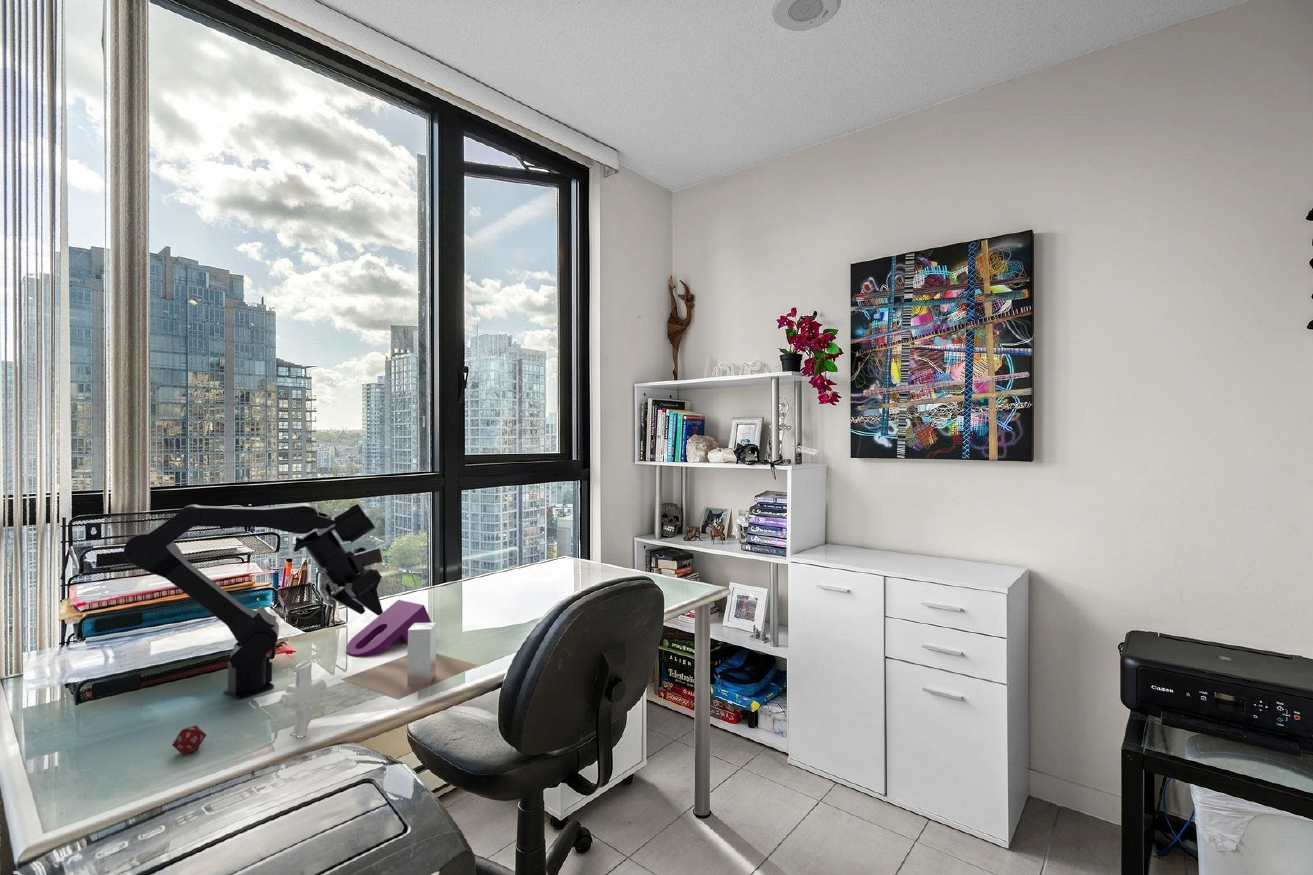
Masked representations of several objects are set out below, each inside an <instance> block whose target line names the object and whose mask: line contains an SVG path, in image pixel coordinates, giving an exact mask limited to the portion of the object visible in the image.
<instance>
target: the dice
mask: <svg viewBox="0 0 1313 875" xmlns="http://www.w3.org/2000/svg"><path fill="white" fill-rule="evenodd" d="M206 737H207V733H205V732H204V731H203V730H202V729H200V728H199V727H198V726H197V725H192V726H190V727H186V728H183V729H181V730H180V732H179V733H178V735H177V736H176V737H175V739H174V741H173V742H172V747H174V748H175V750H177V751H178V752H180V754H181V755H183V756H184V755H187V754H190V753H192V752H195V751H198V749H199V747H200V746H201V744H203V741H204V739H205V738H206Z"/></svg>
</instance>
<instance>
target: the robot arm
mask: <svg viewBox="0 0 1313 875" xmlns="http://www.w3.org/2000/svg"><path fill="white" fill-rule="evenodd" d="M194 527H220V528H221V527H222V528H223V527H225V528H227V527H228V528H229V527H230V528H231V527H232V528H234V527H235V528H267V529H272V530H276V531H277V530H278V531H281V532H287V533H292V534H297V535H298V534H299V535H300V534H301V535H303V534H307V535H305V536H304V537H303V536H302V537H301V536H296V537H295V544H294V546H293V552H298V551H301V550H302V549H303V548H305V549H306V551H307V552H308V553H309V554H310V556H311V557H312V559H313V560H314V561H315V563H316V565H317V567H316V570H317V571H318V572H319V573H323V575H325V577H326V578H327V579H326V580H324V581H323V582H321V585H320V588H319V590H320V592H321V593H322V594H323V595H324V596H325V597H328V598H329V599H331V600H333V601H335V602H336V603H338V604H341V605H343V606H345V607H346V608H349V610H352V611H354V612H356V613H358V614H360V615H363V614H364V613H365V612H366V609H367V610H368V611H370V612H371V613H373V614H375V615H377V616H379V615H381V614H382V613H383V612H384V610H383V608H382V605H381V601H380V598H379V595H378V594H379V593H378V587H379V584H381V581H382V580H381V579H383V576H382V575H381V573H380V571H379V570H378V569H370V568H368V569H367V568H365V567H368V566H371V565H374V564H380V563H383V562H384V560H383V556H382V552H381V549H380V547H377V548H376V547H374V548H370V549H369V548H368V549H366V548H365V547H364V546H360V547H356V548H354V549H353V551H351V550H346V549H345V548H344V547H343V545H342V544H341V543H340V541H339V539H338V537H339V538H340V539H341V541H342V542H343V543H345V542H347V543H348V542H350V543H351V544H352V543H354V542H356V541H358V540H359V539H360V538H362V537H364V536H365V535H367V534H369V533H370V532H372V531H374V530H375V529H376V526H375V525H374V523H373V521H372V520H371V519H370V517H369V516H368V515H367V513H366V512H364V509H362V507H361V506H360V505H359V503H358V502H356V503H354V504H352V505H351V506H350V507H349V508H347V509H345V510H343V511H342V512H340V513H338V514H337V515H335V516H334V515H331V514H330V513H329V514H328V513H324V512H321V511H319V510H318V509H317V507H315V505H314V504H311V503H307V502H300V503H291V504H284V505H283V504H282V505H278V506H271V507H255V506H254V507H253V506H222V505H221V506H219V505H217V506H215V505H199V504H196V503H195V504H190V505H187V506H184V507H183V508H182V509H180V510H179V511H178V513H176V514H175V515H173V516H172V517H171V518H169V519H167V520H166V521H165V522H163V523H162V524H161V525H159V526H158V527H156V528H155V529H147V530H144V531H142V532H140V533H139V534H137V535H135V536H133V537H131V538H130V539H129V540H127V542H125V545H124V547H123V557H124V558H125V560H126V562H128V563H130V564H132V565H133V566H135V567H138V568H139V569H141V570H144V571H145V572H148V573H150V574H153V575H155V576H158V577H161V578H164V579H166V580H167V581H168V582H170V583H171V584H173V585H174V586H175V587H176V588H178V589H179V590H181V591H182V592H183V593H184V594H185V595H187V596H188V597H190V598H191V599H192V600H193V601H195V602H196V603H197V604H199V605H200V606H201V607H203V608H204V609H205V610H207V611H208V612H209V613H211V615H213V616H214V617H215V618H217V619H218V620H219V621H221V622H222V623H223V624H225V625H226V626H227V628H228V629H229V631H230V632H231V634H232V635H233V637H234V639H235V640H236V641H237V642H236V643H235V644H234V646H233V647H232V648H233V649H232V650H231V653H230V657H229V661H227V687H226V688H223V690H222V691H223V693H226V694H227V695H230V696H232V697H234V698H236V699H243V698H247V697H249V696H253V695H255V694H258V693H261V692H264V691H267V690H269V689H272V688H274V687H275V684H274V683H272V681H273V661H271V655H269V654H267V653H269V652H270V651H272V650H273V649H274V647H275V646H276V645H277V643H278V639H279V633H280V625H279V623H278V622H277V618H278V617H277V615H272V614H271V613H269V612H268V611H267V609H265V607H264V606H263V605H259V606H258V608H257V609H256V610H255V609H252V608H249V607H246V606H245V605H243V604H242V603H241V602H240V601H238V600H237V599H236V598H235V597H233V596H232V595H231V594H230V593H228V592H227V591H226V590H225V589H223V588H222V587H221V586H219V585H218V584H217V583H215V582H214V581H213V580H212V579H211V578H209V577H208V576H207V575H206V574H204V573H203V572H202V571H201V570H199V569H198V568H197V567H196V566H194V565H193V564H192V563H190V562H189V561H188V560H187V558H185V556H184V554H183V553H182V551H181V549H180V547H179V546H178V545H177V544H176V543H175V541H176V540H177V539H178V538H180V537H181V536H183V535H184V534H186V533H187V532H189V530H191V529H193V528H194ZM321 529H322V531H320V532H318V531H317V530H321ZM333 531H335V533H336V534H337V535H338V537H337V536H336V535H335V533H334V532H333Z"/></svg>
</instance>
